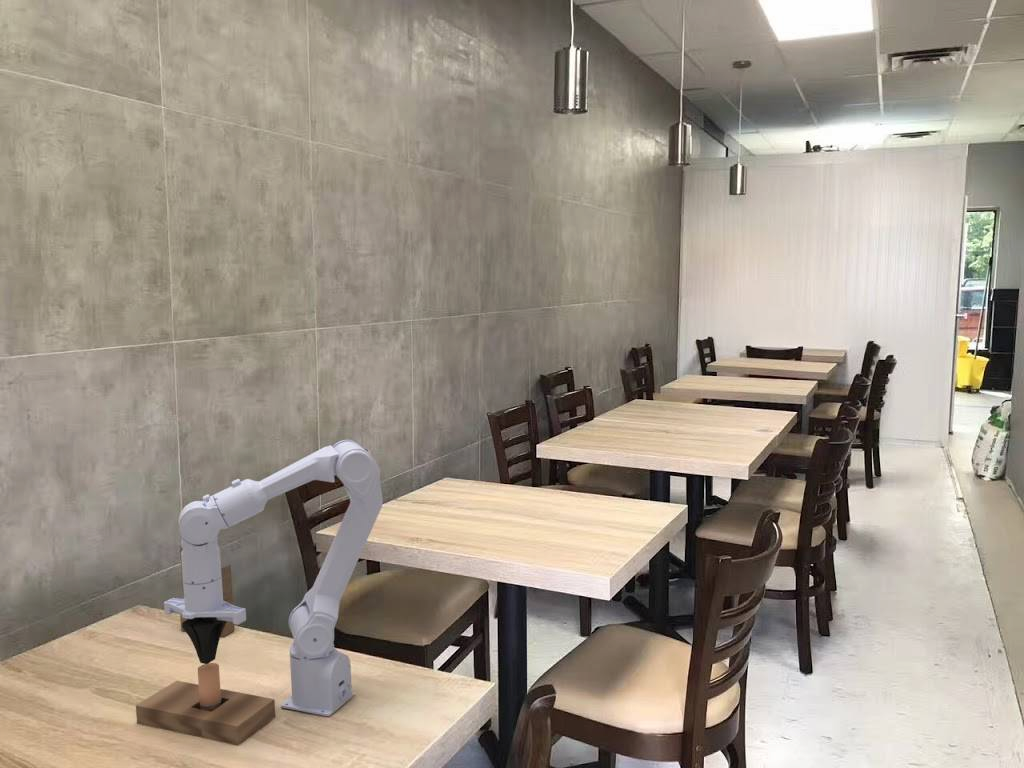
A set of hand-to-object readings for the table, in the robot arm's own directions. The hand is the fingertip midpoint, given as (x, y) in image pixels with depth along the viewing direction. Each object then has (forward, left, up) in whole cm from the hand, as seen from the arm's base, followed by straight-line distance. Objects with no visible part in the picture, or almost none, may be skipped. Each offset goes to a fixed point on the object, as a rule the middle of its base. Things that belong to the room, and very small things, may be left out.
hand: (207, 660), depth 133 cm
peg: (0, 0, -10) cm, 10 cm away
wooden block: (+26, -29, -10) cm, 40 cm away
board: (+1, 0, -10) cm, 10 cm away
